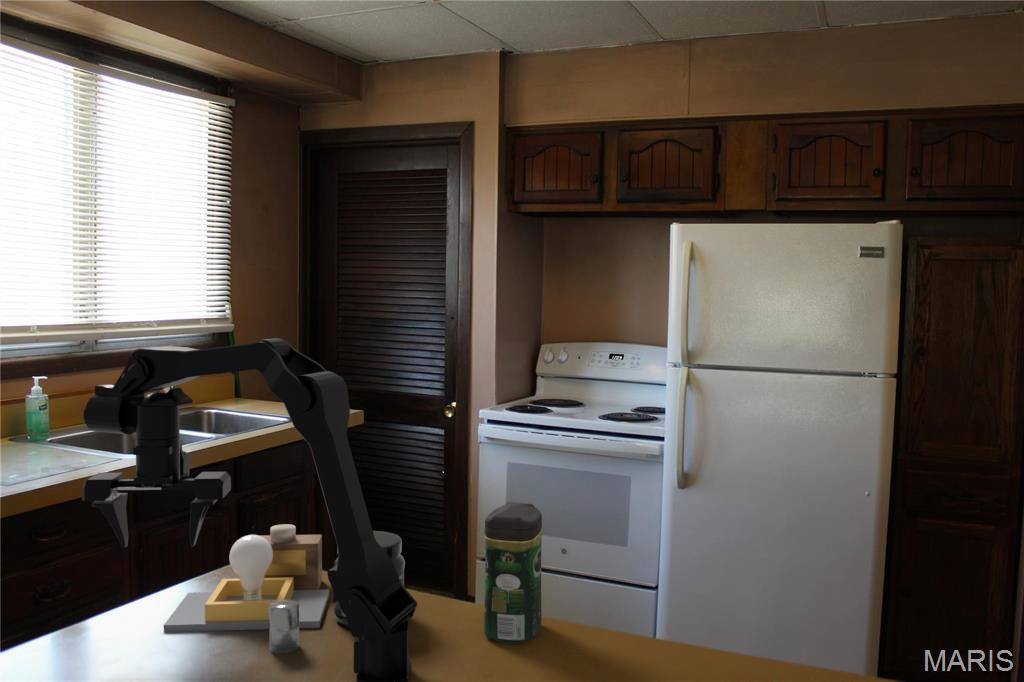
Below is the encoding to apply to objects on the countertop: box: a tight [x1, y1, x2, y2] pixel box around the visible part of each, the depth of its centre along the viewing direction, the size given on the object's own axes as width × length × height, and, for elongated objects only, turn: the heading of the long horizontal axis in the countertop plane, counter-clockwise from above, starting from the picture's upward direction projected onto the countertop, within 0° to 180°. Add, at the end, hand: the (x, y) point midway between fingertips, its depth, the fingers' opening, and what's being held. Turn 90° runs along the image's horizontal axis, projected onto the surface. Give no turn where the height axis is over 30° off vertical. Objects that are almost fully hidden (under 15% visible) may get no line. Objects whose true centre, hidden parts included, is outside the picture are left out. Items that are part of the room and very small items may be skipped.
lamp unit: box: [261, 523, 323, 590], centre depth 141 cm, size 12×5×10 cm, turn 96°
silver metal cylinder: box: [268, 600, 300, 655], centre depth 118 cm, size 4×4×6 cm
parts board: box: [163, 577, 330, 633], centre depth 130 cm, size 22×13×4 cm, turn 96°
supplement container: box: [333, 530, 406, 628], centre depth 129 cm, size 10×10×12 cm
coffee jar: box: [483, 501, 543, 645], centre depth 124 cm, size 10×8×19 cm
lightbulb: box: [228, 534, 273, 601], centre depth 130 cm, size 6×6×11 cm
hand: (159, 546), depth 121 cm, fingers open, 9 cm apart
